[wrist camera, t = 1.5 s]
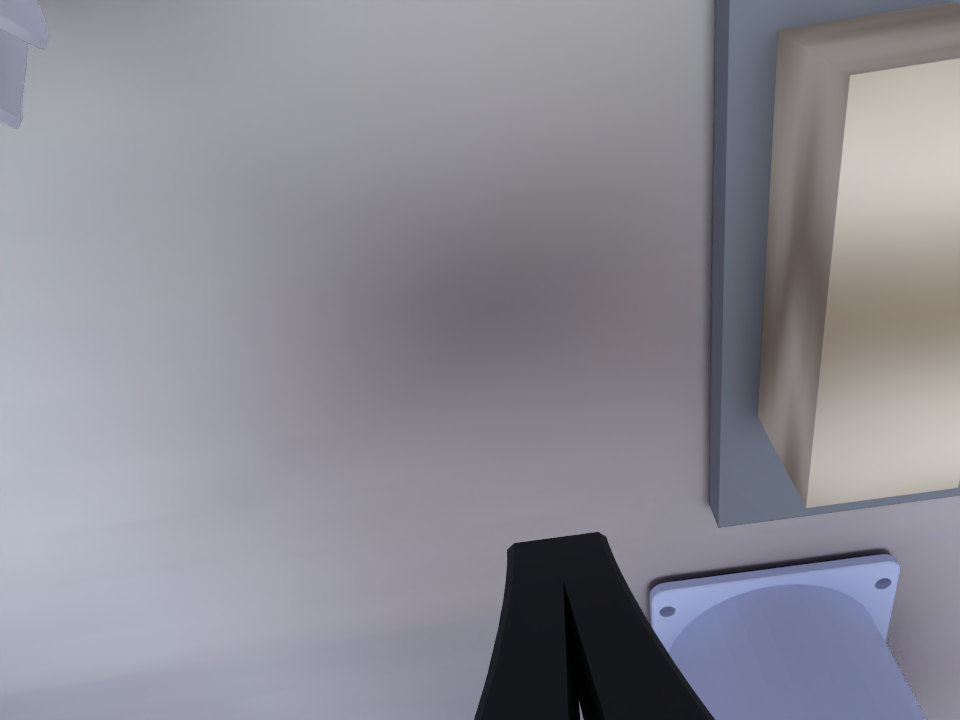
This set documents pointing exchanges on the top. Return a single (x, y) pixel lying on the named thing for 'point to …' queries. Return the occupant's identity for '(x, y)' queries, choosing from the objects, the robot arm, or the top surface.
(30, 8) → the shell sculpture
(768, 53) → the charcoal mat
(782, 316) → the maple T block
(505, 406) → the top surface
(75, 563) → the top surface
